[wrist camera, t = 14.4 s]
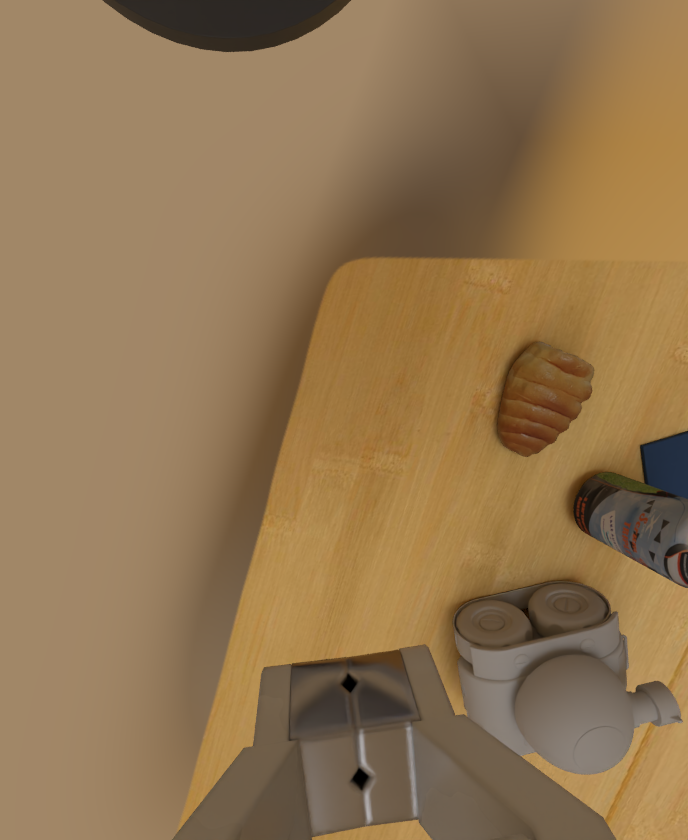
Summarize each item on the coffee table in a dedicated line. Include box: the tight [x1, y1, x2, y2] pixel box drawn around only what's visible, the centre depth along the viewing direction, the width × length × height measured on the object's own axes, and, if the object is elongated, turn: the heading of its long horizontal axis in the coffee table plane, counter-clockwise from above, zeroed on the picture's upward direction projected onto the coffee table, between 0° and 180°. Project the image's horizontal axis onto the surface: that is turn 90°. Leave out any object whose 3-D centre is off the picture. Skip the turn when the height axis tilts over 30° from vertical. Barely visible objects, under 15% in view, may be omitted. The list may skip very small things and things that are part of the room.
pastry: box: [497, 342, 594, 457], centre depth 39 cm, size 9×7×4 cm
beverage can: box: [574, 472, 688, 588], centre depth 37 cm, size 6×7×12 cm
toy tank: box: [453, 581, 683, 774], centre depth 39 cm, size 15×11×13 cm
